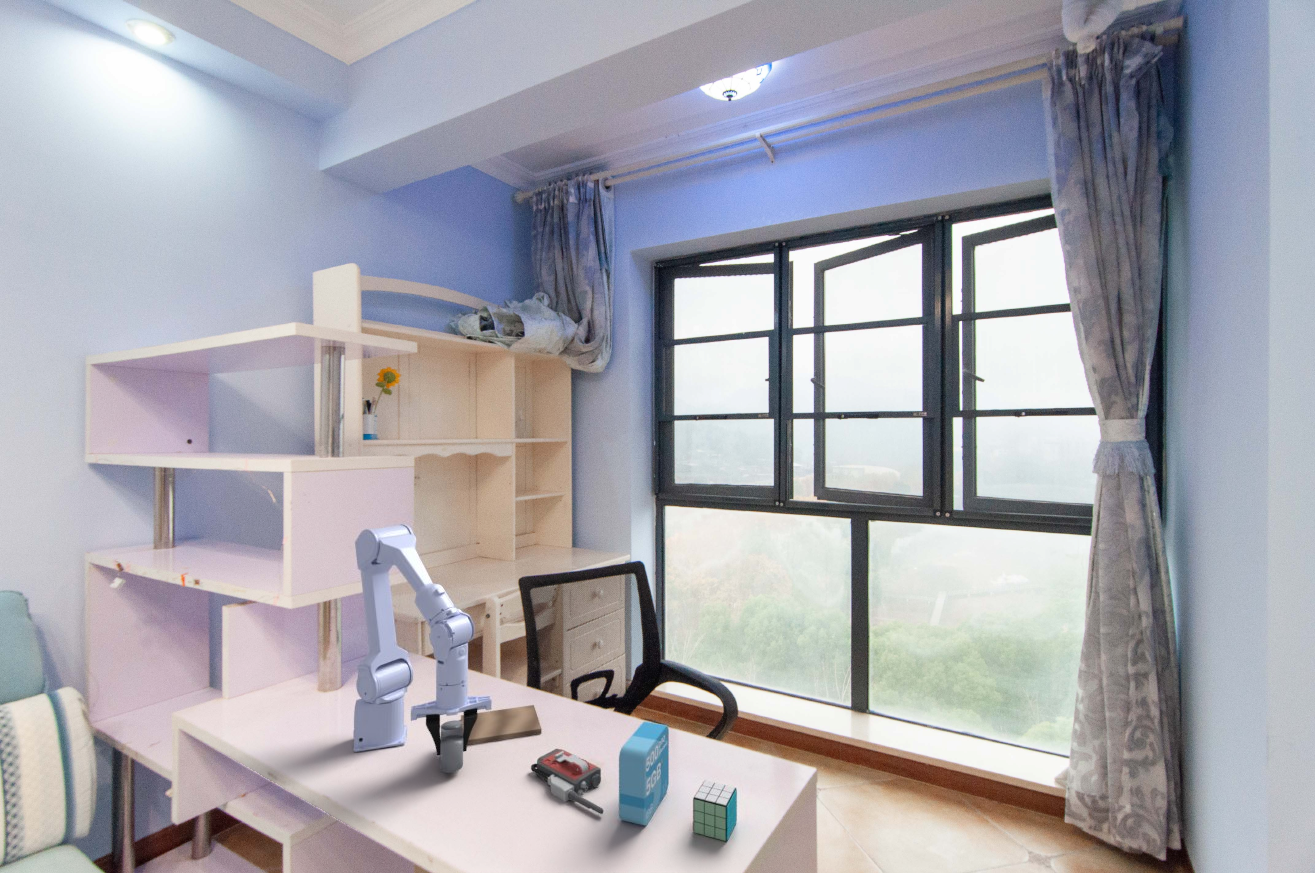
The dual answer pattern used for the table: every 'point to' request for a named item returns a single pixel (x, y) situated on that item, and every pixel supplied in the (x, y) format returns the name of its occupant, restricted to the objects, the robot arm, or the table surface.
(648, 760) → the data package
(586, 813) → the table surface
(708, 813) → the puzzle toy
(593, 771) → the walkie-talkie
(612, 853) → the table surface
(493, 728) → the walnut board
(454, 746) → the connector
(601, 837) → the table surface
